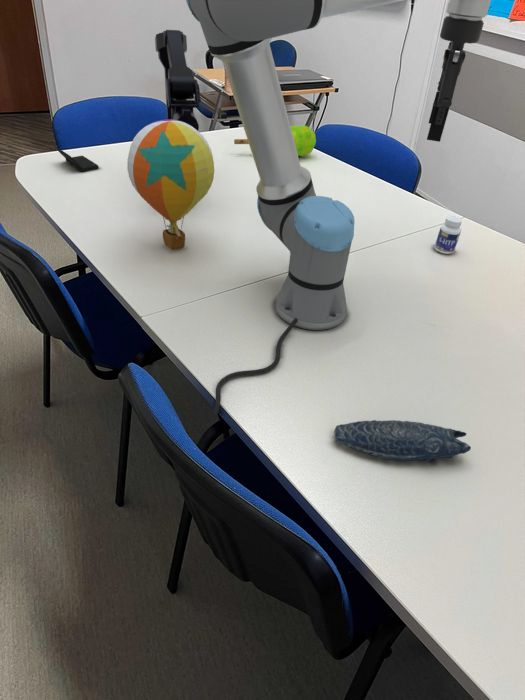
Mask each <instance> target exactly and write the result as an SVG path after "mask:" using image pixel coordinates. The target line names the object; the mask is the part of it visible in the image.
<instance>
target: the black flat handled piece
mask: <svg viewBox="0 0 525 700" xmlns="http://www.w3.org/2000/svg"><path fill="white" fill-rule="evenodd" d="M53 148H54V149H55V150H56V151H57V152H58V153H59V154H60V155H61V156H63V158H65V162H67V163H68V164H69V165H71V166H73V167H75V169H77V170H78V171H80V172H86V171H91V170H97V169H99V164H97V163H95V162H93V161H92V160H91V159H90V158H89V159H88V158H87V157H86V156H84V155H77V156H71V155H70V154H68V153H66V152H65V151H64V150H63V149H60V148H59V147H57V146H56V145H54V146H53Z"/></svg>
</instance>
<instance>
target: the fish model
mask: <svg viewBox="0 0 525 700" xmlns="http://www.w3.org/2000/svg"><path fill="white" fill-rule="evenodd" d="M333 433H334V440H333V442H335V443H340V444H341V445H343V446H346V447H348V448H349V449H354V450H355V451H358V452H362V453H363V454H364V455H366V454H367V455H368V456H371V455H372V456H374V457H381V458H382V459H385V460H393V461H403V462H406V461H409V460H410V461H416V460H421V461H424V462H433V461H434V460H435V459H438V458H446V459H447V460H449V459H453V458H454V457H455V456H458V455H460V454H462V455H463V454H467V453H468V452H470V451H471V449H472V447H471V446H470V445H469V444H468V443H467V442H464V441H462V440H460V439H458V438H463V437H466V436H467V433H466V432H465V431H461V430H456V429H452V428H447V427H443V426H440V425H435V424H431V423H424V422H418V421H409V420H404V421H403V420H393V419H392V420H391V419H390V420H376V419H373V420H359V421H356V422H355V421H354V422H353V421H352V422H348V423H345V424H338V425H336V426H335V428H334V431H333Z"/></svg>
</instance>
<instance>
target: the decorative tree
mask: <svg viewBox="0 0 525 700" xmlns="http://www.w3.org/2000/svg"><path fill="white" fill-rule="evenodd" d="M290 126H291V130H292V134H293V138H294V142H295V146H296V150H297V154H298V157H306V156H307V155H309V154H311V153H313V150H314V148H315V146H316V143H317V136H316V133H315V132H314V131H313V130H312V129H311V128H310V127H309V126H308V125H290ZM233 141H234V145H249V143H248V139H247V138H234V140H233Z"/></svg>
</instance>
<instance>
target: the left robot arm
mask: <svg viewBox="0 0 525 700" xmlns="http://www.w3.org/2000/svg"><path fill="white" fill-rule="evenodd" d="M154 45H155V46H154V47H155V52H156V53H157V56H158V57H157V58H158V60H159V62H160V63H161V65H162V67H163V69H164V86H165V89H164V90H165V106H166V120H167V119H171V120H177V121H182V122H185V123H187V124H188V125H190V126H192V127H193V128H195V129H196V130H197V131H198V132H199V129H200V125H199V122H198V119H197V118H196V115H195V113H194V109H197V108H198V109H199V108H200V104H201V102H202V97H201V90H200V89H201V88H200V84H199V83H198V80H197V79H195V75H194V71H193V69H191V67H188V65H187V60H186V53H187V51H188V39H187V35H186V34H184V32H183V31H181V30H179V29H165V30H163V31H162V32H158V33H156V34H155V36H154Z"/></svg>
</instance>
